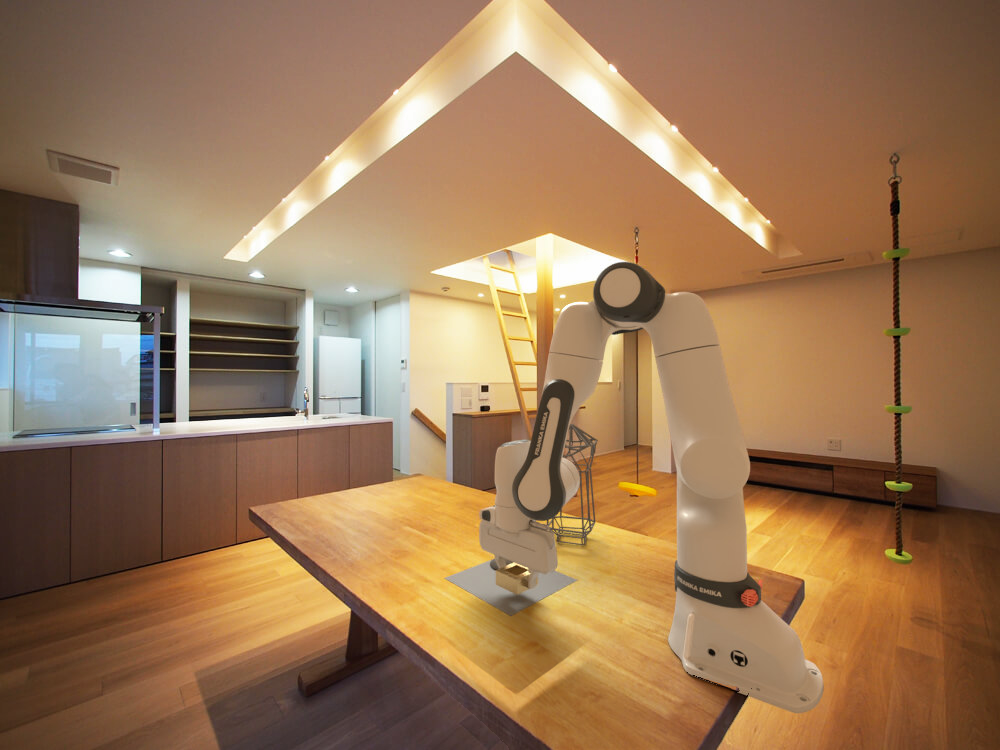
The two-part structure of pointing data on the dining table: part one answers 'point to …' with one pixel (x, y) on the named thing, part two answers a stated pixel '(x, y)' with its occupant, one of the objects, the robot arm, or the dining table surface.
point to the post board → (485, 588)
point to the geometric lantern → (588, 443)
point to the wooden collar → (513, 578)
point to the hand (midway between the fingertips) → (516, 581)
